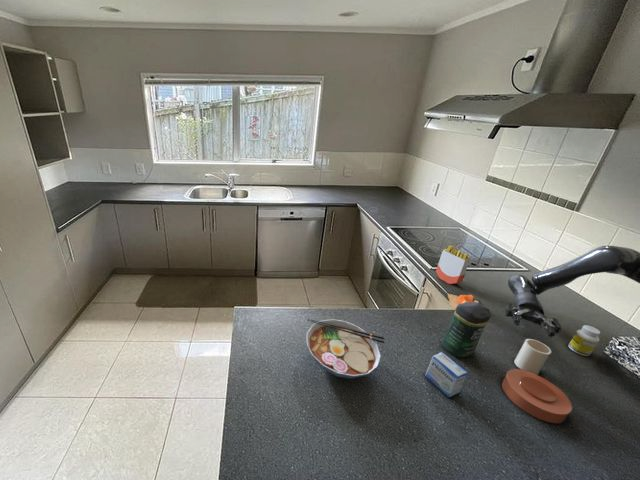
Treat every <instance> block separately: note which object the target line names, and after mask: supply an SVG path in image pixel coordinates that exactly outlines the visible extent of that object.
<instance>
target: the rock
mask: <svg viewBox="0 0 640 480" xmlns="http://www.w3.org/2000/svg"><path fill="white" fill-rule="evenodd" d="M447 298H448V301H449V305H450V309H452V310H455V309H456V307H457V306H458V304H461V303H466V302H478V303H480V302H479V301H478V300H475V298H474V296H473V295H472V294H460V295H456V294H452V293H448V292H447Z"/></svg>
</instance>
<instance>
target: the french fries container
mask: <svg viewBox="0 0 640 480" xmlns="http://www.w3.org/2000/svg"><path fill="white" fill-rule="evenodd" d="M439 257H440V258H439V260H438V264H437V266H436V270H435V273H436V275H437V277H438V279H440V280H442V281H443V282H445V283H446V284H449V285H452V284H458V283H462V282H463V281H464V278H465V276H466V272H467V269H468V265H469V261H470V259H471V257H469V254H467V253H463V252H462V250H461V249H458V250H457V249H456V247H454V246H452V245H448V246H447V248H444V249H442V252H441V255H440V256H439Z"/></svg>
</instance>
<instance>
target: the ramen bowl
mask: <svg viewBox="0 0 640 480" xmlns="http://www.w3.org/2000/svg"><path fill="white" fill-rule="evenodd" d="M307 321H308V322H312V323H314V324H311V326H310V328H309V329H308V331H306V346H307V348H308V350H309V352H310V354H311V356H312V359H313V360H314V361H315V362H316V363H317V364H318V365H319V366H320V367H321V368H322V369H324V370H325V371H326V372H328V373H330V374H332V375H334V376H335V377H339V378H344V379H356V378H360V377H365V376H368V375H369V374H370V373H372V372H373V370H375V369H376V368H378V366H379V363H380V360H381V358H382V357H381V356H382V355H381V353H380V349H379V346H378V343H381V344H385V336H384V335H383V336H382V335H380V334H375V333H369V332H366V331H365V330H364V329H362V328H361V327H359V326H358V325H357V324H353V323H351V322H348V321H346V320H340V319H333V318H332V319H331V318H330V319H324V320H320V321H319V320H314V319H310V318H307ZM376 342H377V343H376Z"/></svg>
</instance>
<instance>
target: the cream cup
mask: <svg viewBox="0 0 640 480" xmlns="http://www.w3.org/2000/svg"><path fill="white" fill-rule="evenodd" d="M551 354H552V350H551V348H550V347H549V346H547V345H546V344H545V343H543V342H542V341H539V340H537V339H532V338H526V339H525V340H524V341H523V343H522V346H521V347H520V349H519V351H518V353H517V354H516V356H515V358H514V361H513V362H514V364H515V366H516V367H517V368H518V369H520V370H525V371H528V372H531V373H534V374H536V375H539V374H540V372H541V371H542V370H543V367H544V366H545V364H546V363H547V361H548V360H549V357H550V356H551Z"/></svg>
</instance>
